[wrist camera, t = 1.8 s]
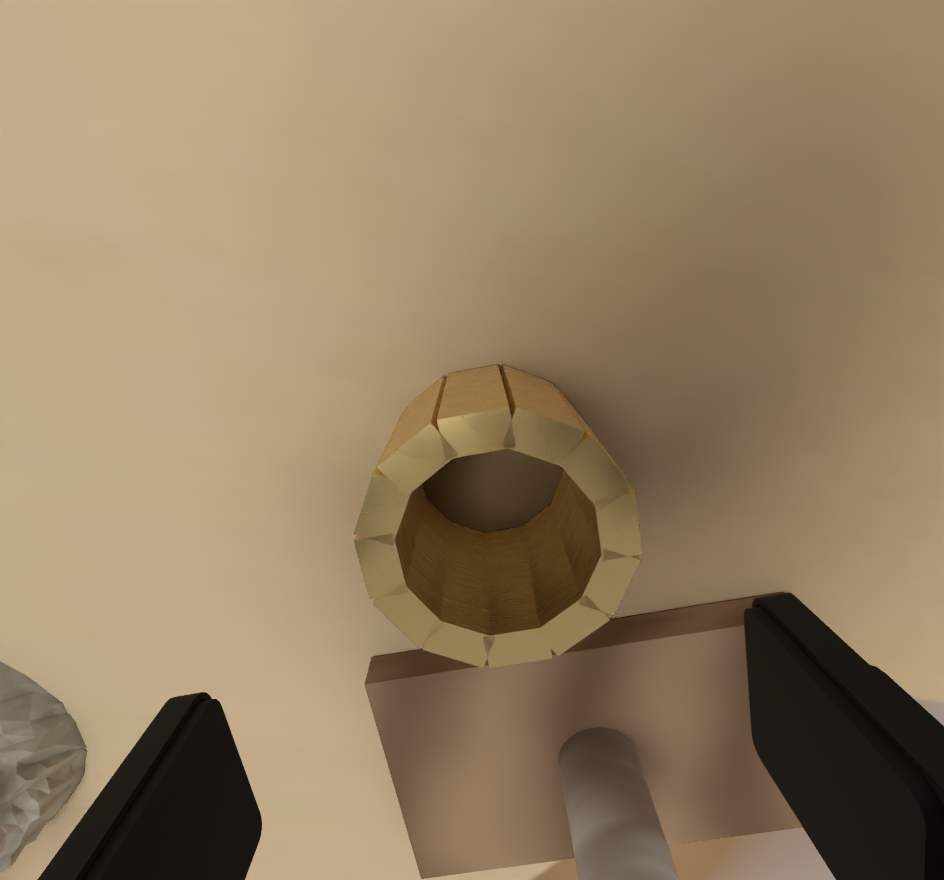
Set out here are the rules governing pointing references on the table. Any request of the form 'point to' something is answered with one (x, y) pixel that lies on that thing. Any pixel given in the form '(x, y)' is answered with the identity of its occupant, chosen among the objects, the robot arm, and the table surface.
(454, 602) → the ring
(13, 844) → the ceramic cottage
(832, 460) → the table surface
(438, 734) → the post board
